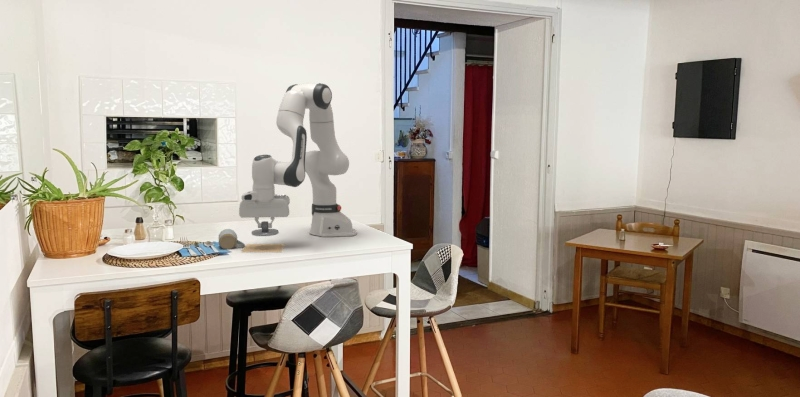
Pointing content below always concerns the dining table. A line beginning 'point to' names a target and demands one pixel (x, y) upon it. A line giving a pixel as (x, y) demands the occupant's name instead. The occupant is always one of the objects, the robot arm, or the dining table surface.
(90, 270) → the dining table surface
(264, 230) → the lid
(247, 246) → the mat
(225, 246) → the ceramic mug
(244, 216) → the robot arm
